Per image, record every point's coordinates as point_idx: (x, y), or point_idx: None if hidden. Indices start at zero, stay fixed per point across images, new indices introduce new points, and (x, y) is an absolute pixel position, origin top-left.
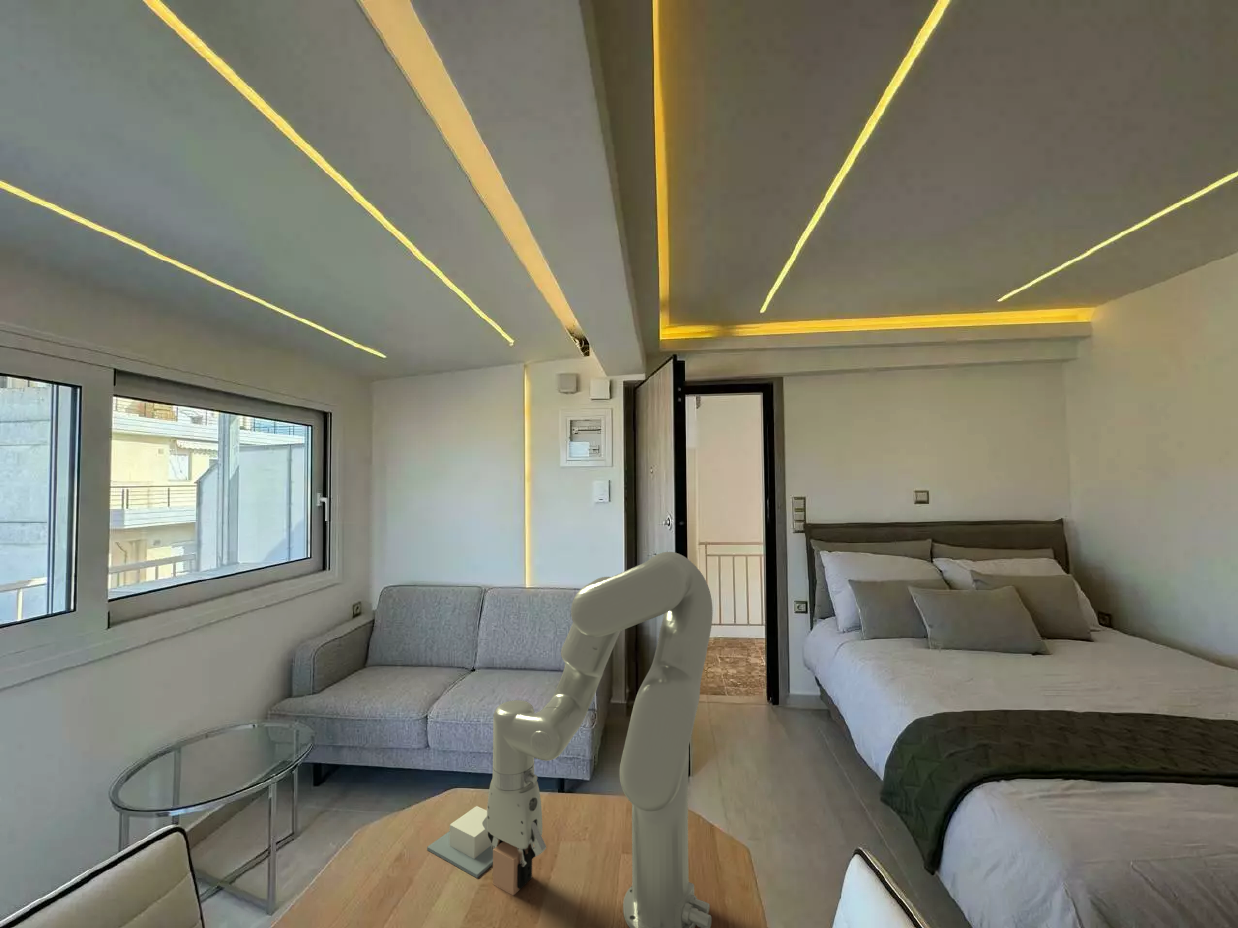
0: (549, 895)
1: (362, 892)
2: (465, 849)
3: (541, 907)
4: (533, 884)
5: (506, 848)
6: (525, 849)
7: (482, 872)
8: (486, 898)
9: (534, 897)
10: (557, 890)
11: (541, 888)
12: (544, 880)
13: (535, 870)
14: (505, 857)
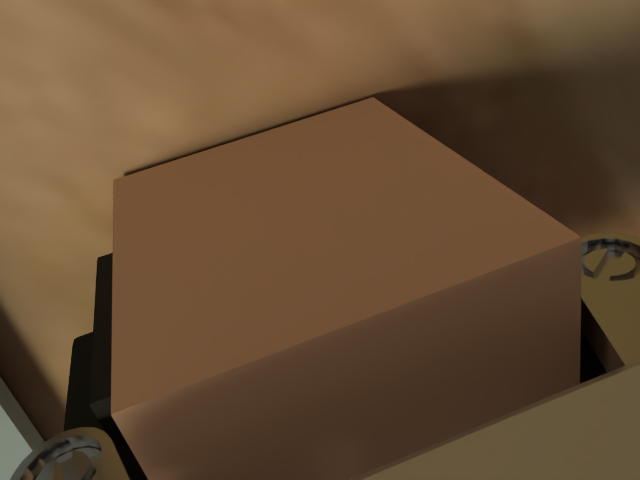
0: (603, 90)
1: None
2: None
3: (616, 191)
4: (432, 127)
5: None
6: (577, 367)
7: (27, 421)
8: None
9: (526, 186)
10: (627, 8)
11: (512, 99)
12: (473, 25)
13: (315, 14)
14: None
